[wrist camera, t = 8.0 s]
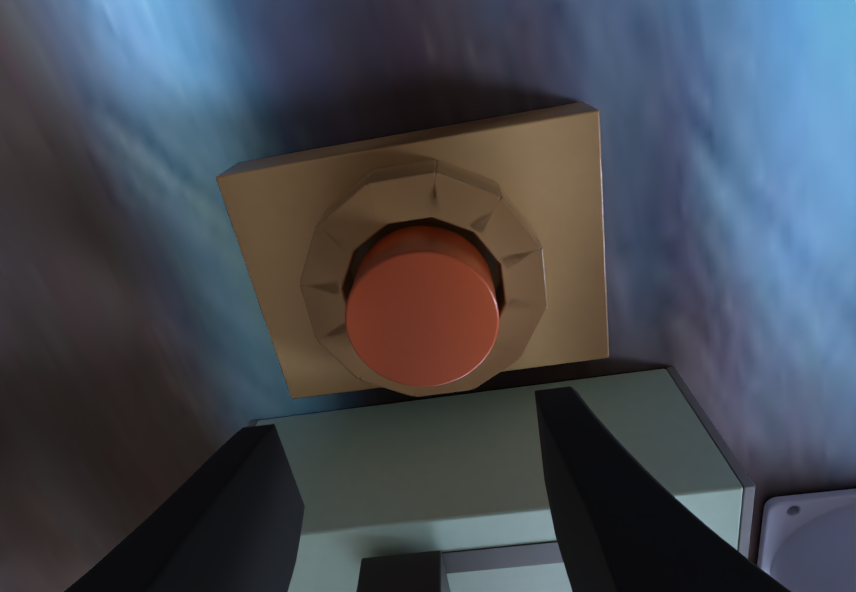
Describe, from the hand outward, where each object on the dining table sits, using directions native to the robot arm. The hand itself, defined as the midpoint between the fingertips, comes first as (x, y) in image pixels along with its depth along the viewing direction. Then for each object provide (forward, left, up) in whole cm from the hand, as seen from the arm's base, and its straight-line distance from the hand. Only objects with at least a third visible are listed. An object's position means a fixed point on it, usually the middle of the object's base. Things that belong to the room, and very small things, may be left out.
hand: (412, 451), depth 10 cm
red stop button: (0, 0, -7) cm, 7 cm away
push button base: (0, 0, -10) cm, 10 cm away
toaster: (0, +11, -10) cm, 15 cm away
